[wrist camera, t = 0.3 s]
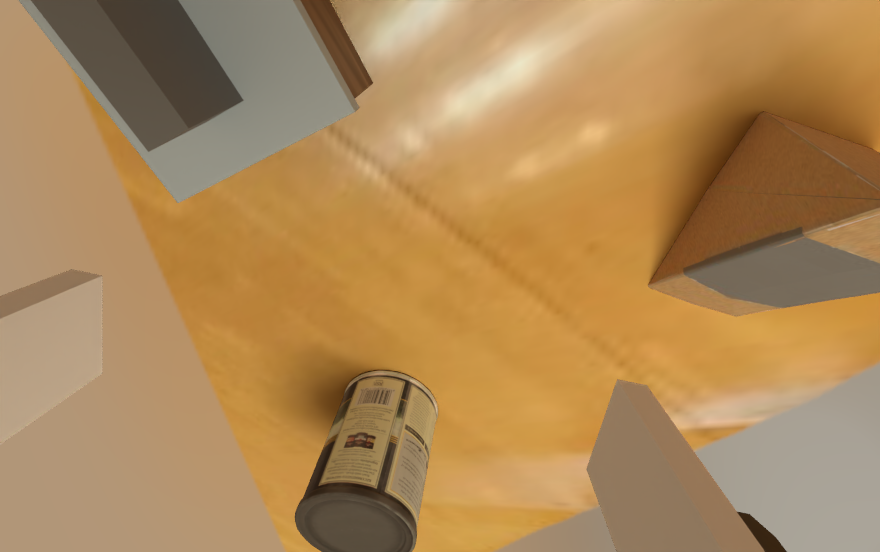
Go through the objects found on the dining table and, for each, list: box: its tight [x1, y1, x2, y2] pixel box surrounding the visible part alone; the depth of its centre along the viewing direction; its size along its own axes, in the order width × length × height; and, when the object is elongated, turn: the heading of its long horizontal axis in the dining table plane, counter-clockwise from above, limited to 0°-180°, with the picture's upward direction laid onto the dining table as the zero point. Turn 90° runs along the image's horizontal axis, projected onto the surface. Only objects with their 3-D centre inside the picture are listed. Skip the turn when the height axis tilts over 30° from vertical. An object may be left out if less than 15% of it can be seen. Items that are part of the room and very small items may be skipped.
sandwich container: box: [648, 111, 880, 316], centre depth 31 cm, size 9×15×15 cm, turn 163°
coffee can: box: [295, 370, 438, 552], centre depth 47 cm, size 10×10×14 cm
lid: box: [19, 0, 359, 203], centre depth 27 cm, size 15×15×7 cm
